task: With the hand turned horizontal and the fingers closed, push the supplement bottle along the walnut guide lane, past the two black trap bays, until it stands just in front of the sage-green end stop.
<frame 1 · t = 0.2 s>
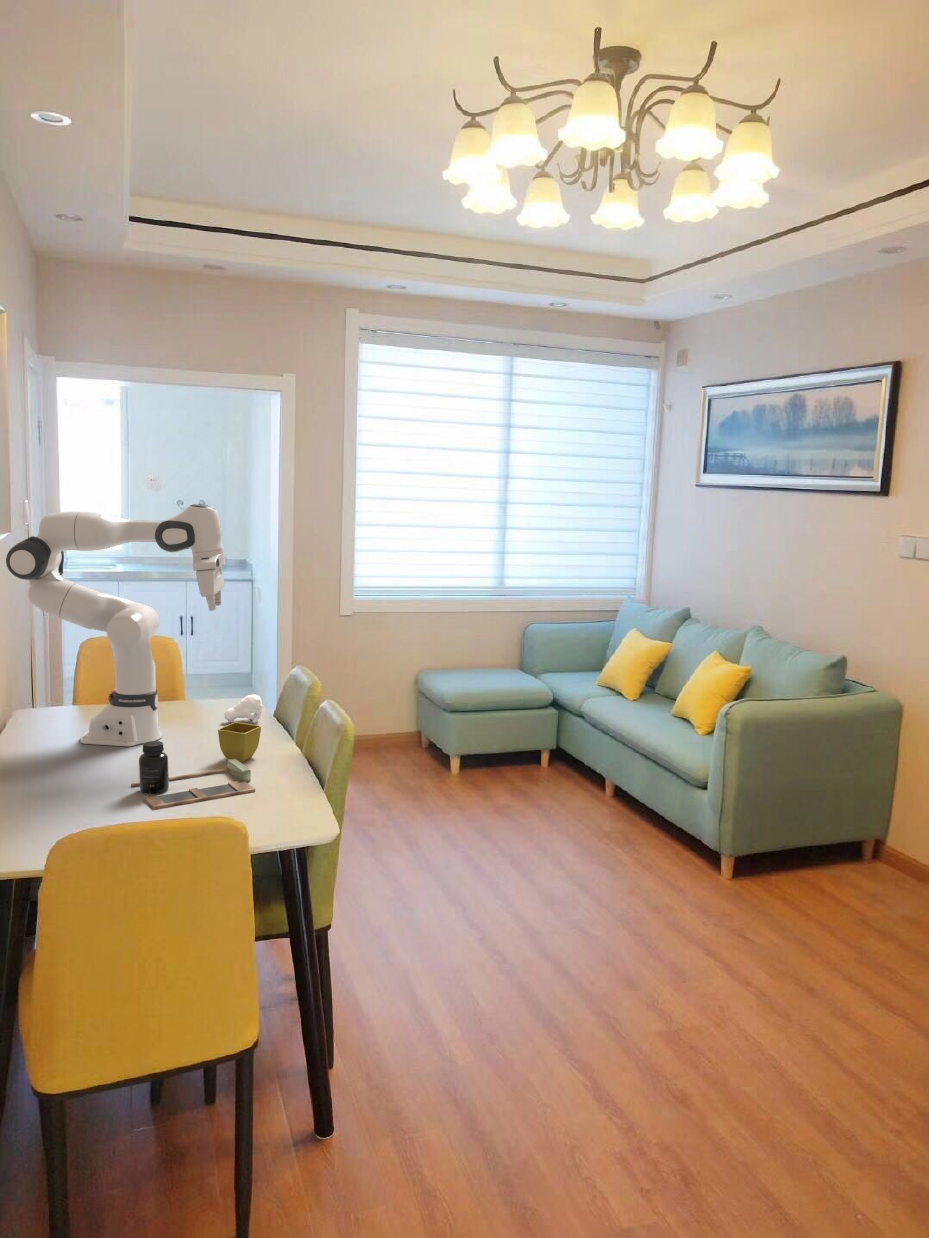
hand: (215, 607, 266), 39 cm above the table, tool pointing down, fingers open, 8 cm apart
supplement bottle: (154, 791, 227), on the table
flower pot: (239, 759, 254), on the table
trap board: (195, 788, 229), on the table
white lumpy piece: (243, 722, 292), on the table
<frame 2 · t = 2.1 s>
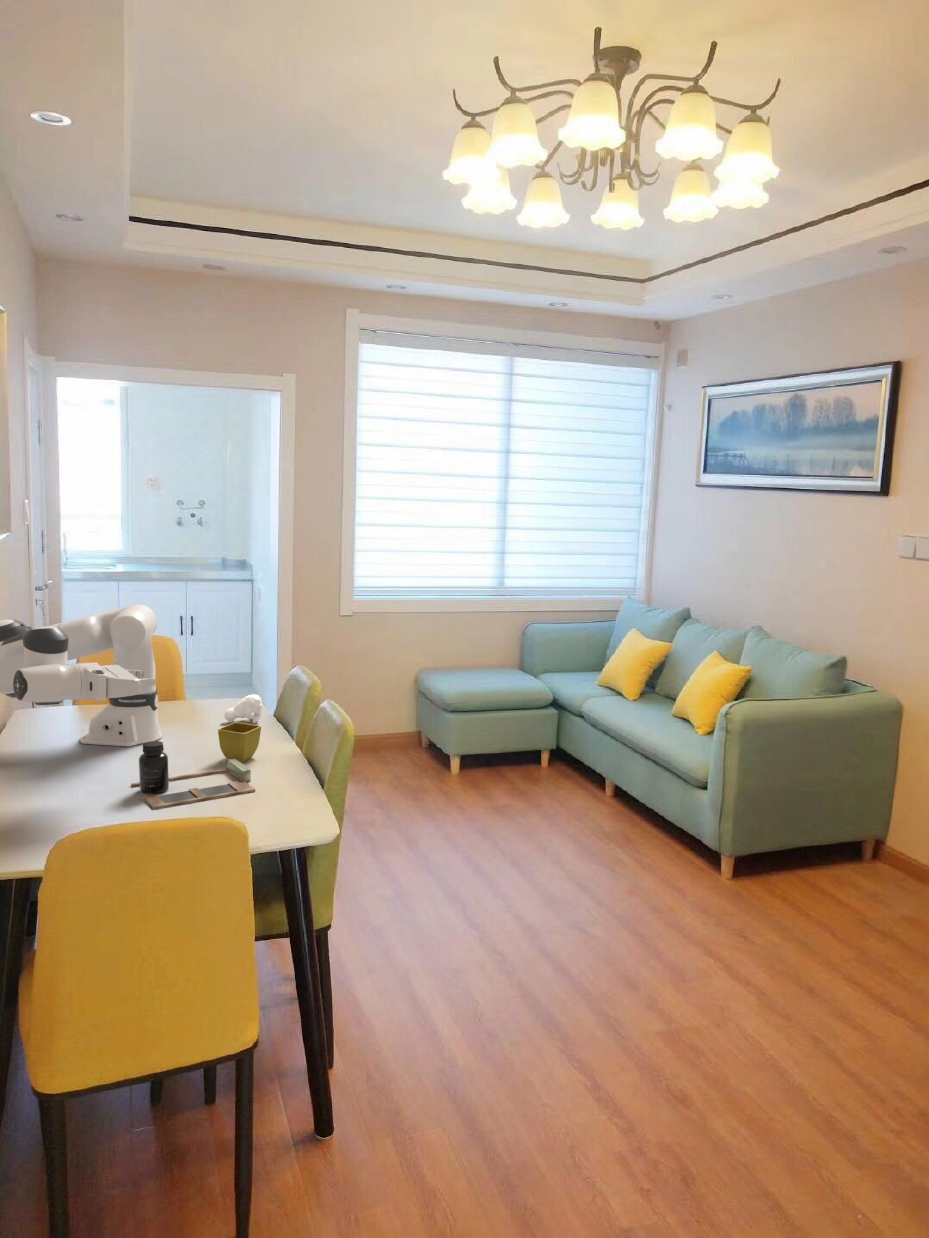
hand: (148, 677, 227), 27 cm above the table, tool horizontal, fingers open, 8 cm apart
nothing on the table moved.
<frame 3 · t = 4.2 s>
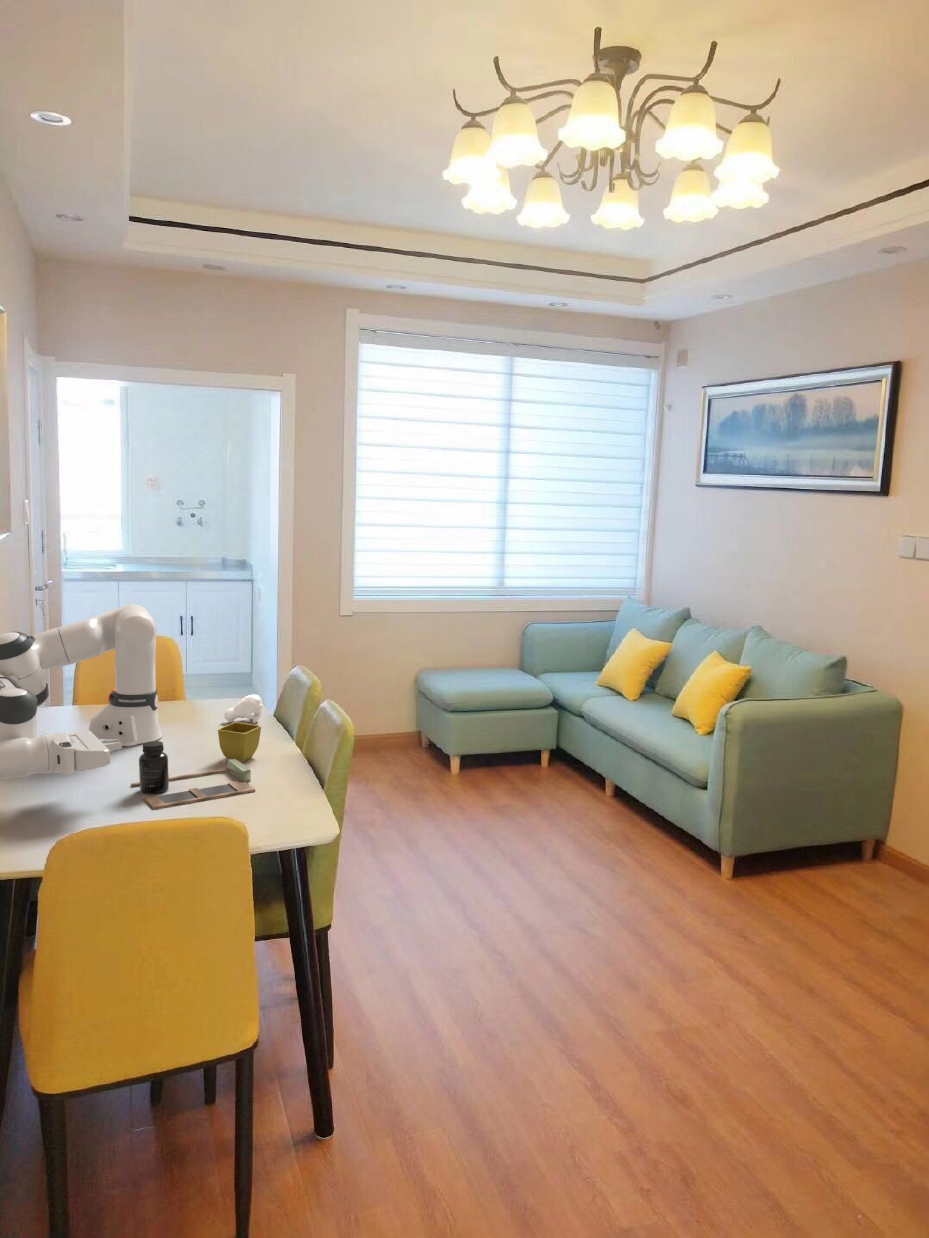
hand: (120, 744, 220), 13 cm above the table, tool horizontal, fingers closed
nothing on the table moved.
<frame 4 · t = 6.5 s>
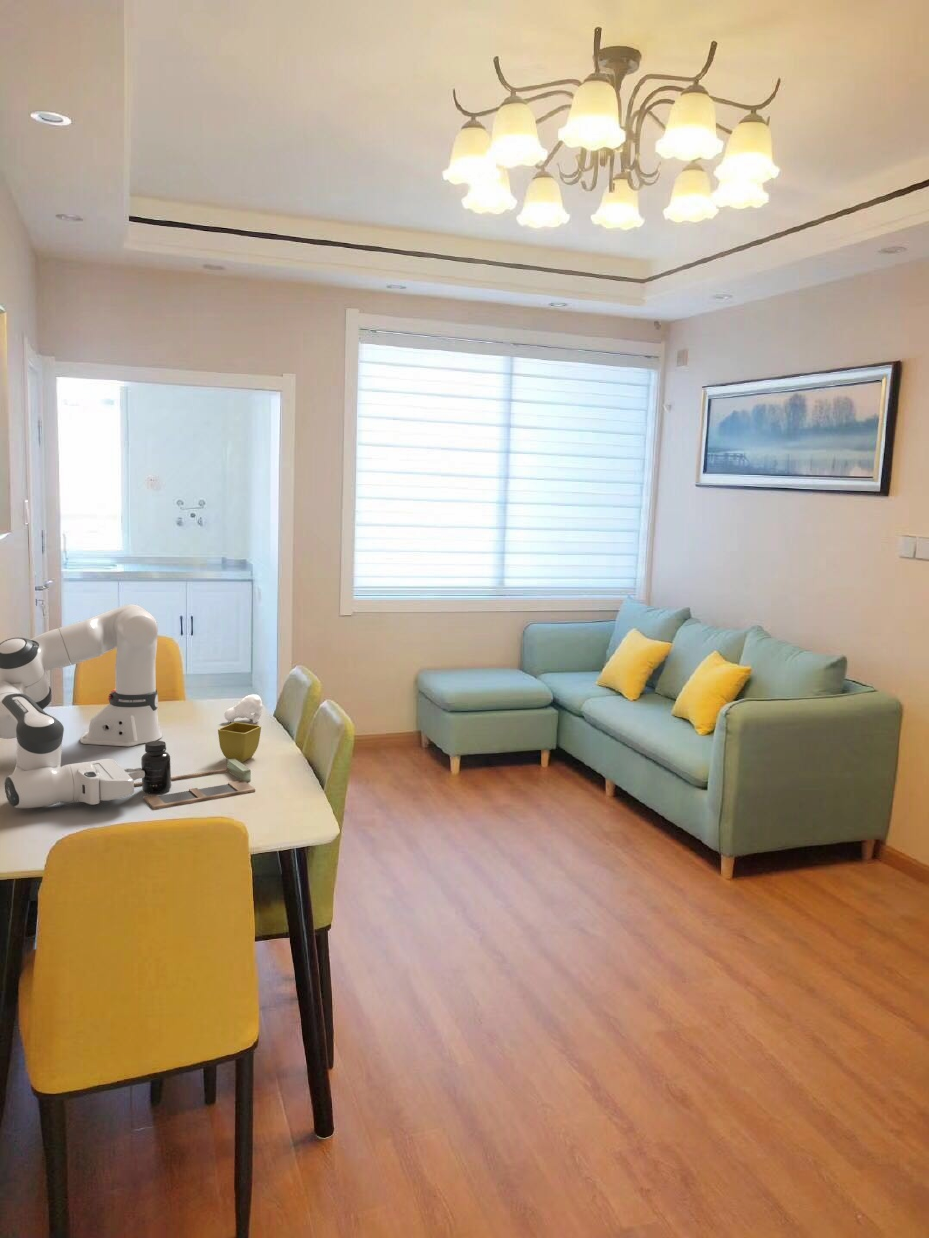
hand: (143, 772, 223), 5 cm above the table, tool horizontal, fingers closed
supplement bottle: (156, 790, 227), on the table, touching gripper
everything else where it was.
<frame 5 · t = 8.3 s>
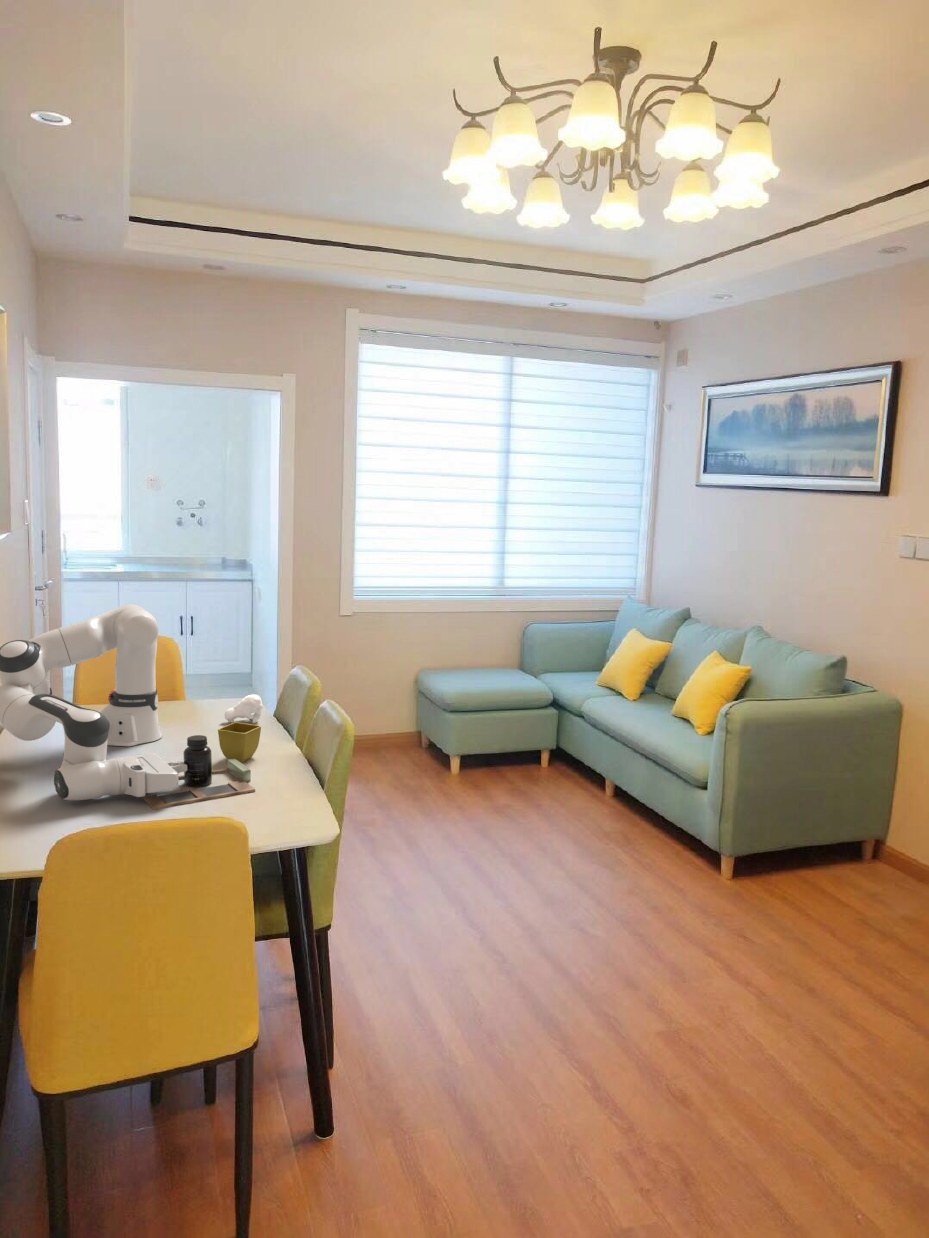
hand: (185, 766, 229), 5 cm above the table, tool horizontal, fingers closed
supplement bottle: (197, 783, 233), on the table, touching gripper
everything else where it was.
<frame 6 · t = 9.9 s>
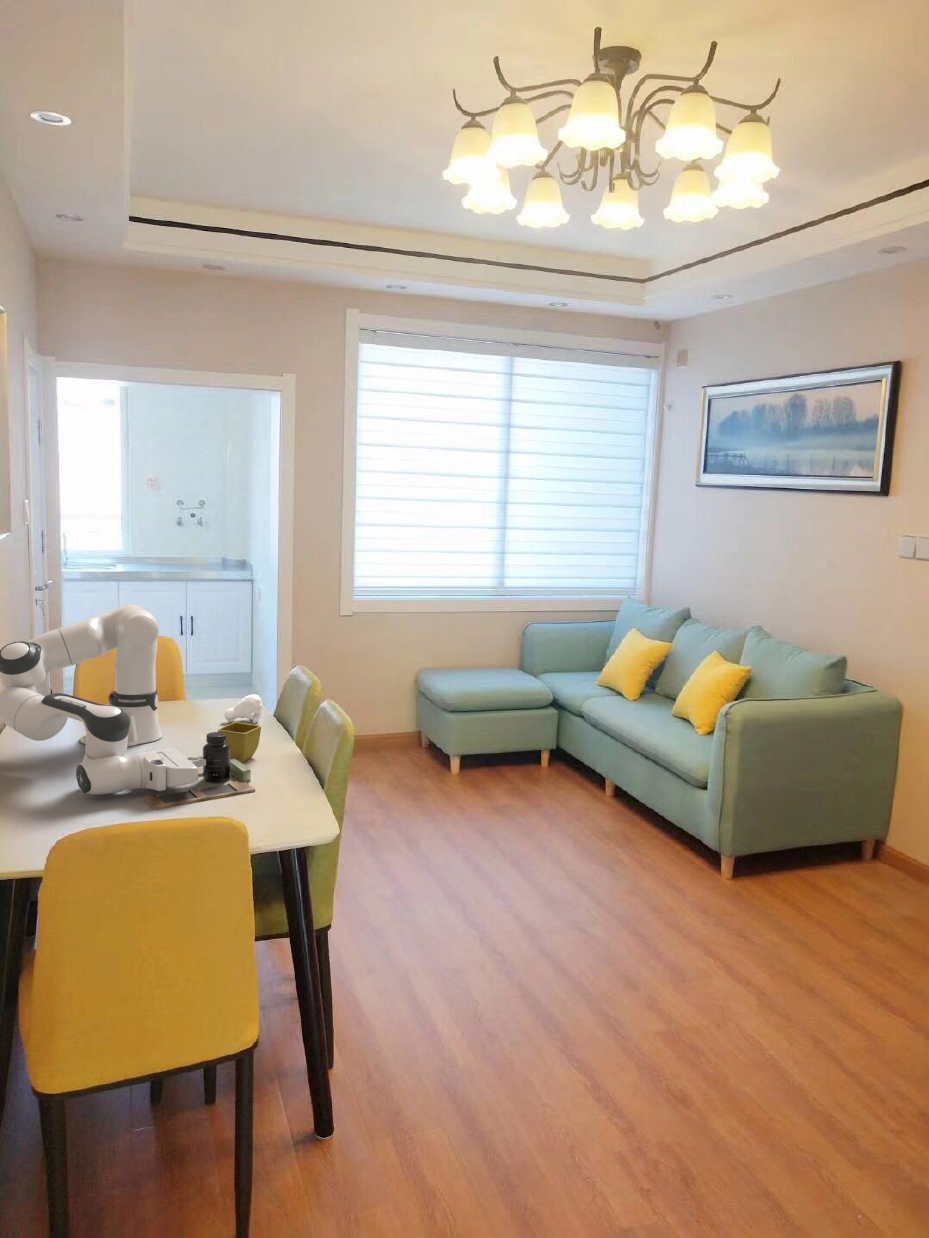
hand: (204, 760, 233), 6 cm above the table, tool horizontal, fingers closed
supplement bottle: (216, 779, 236), on the table, touching gripper
everything else where it was.
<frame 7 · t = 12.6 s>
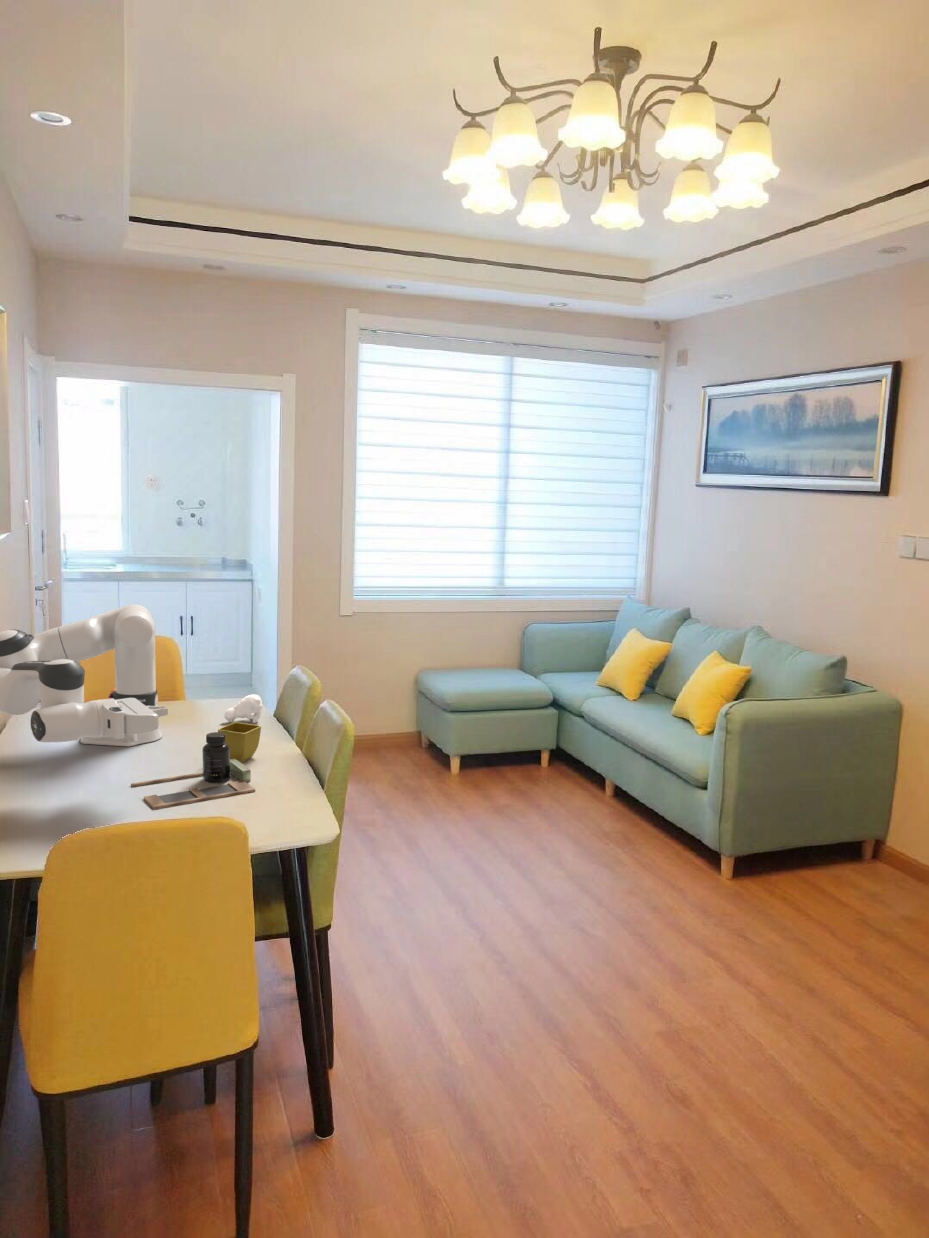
hand: (166, 710, 225), 20 cm above the table, tool horizontal, fingers closed
supplement bottle: (216, 780, 236), on the table
everything else where it was.
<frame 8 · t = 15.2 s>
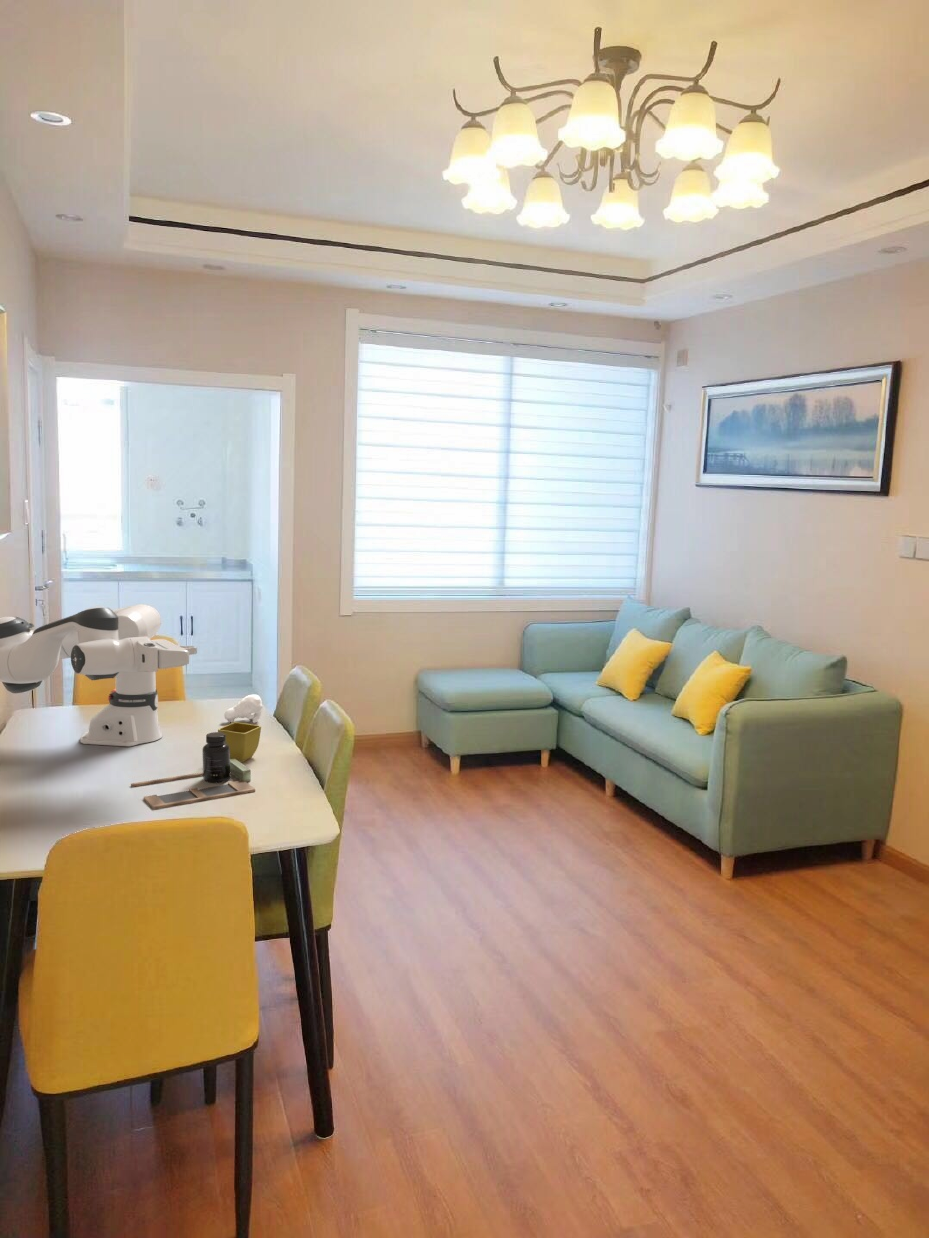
hand: (195, 649, 241), 32 cm above the table, tool horizontal, fingers closed
nothing on the table moved.
at the end: supplement bottle inside the target area (1.5 cm from its centre), on the table; supplement bottle tilted 0°; supplement bottle moved 16.0 cm from its start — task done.
